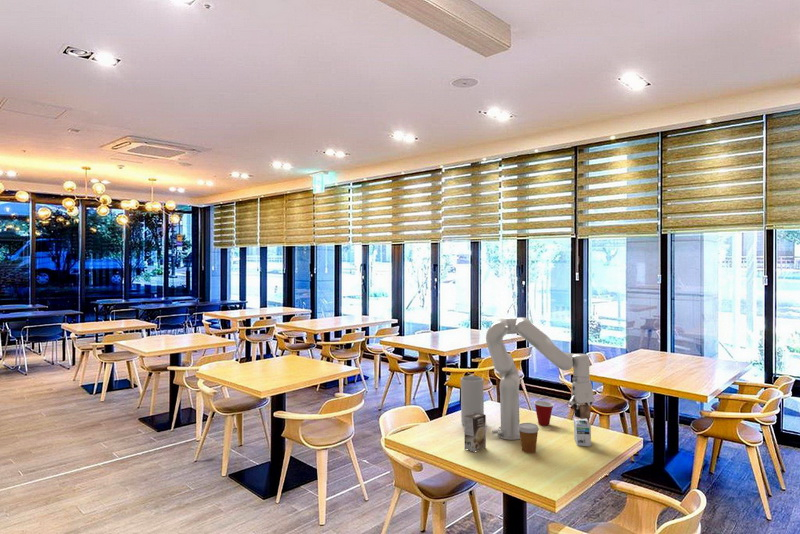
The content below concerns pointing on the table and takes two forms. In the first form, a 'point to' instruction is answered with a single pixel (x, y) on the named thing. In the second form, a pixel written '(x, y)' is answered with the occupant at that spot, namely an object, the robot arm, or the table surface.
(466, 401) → the cylinder vase
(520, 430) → the disposable coffee cup
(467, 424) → the coffee box
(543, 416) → the plastic cup
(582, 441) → the light bulb box
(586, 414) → the walnut block
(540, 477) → the table surface
